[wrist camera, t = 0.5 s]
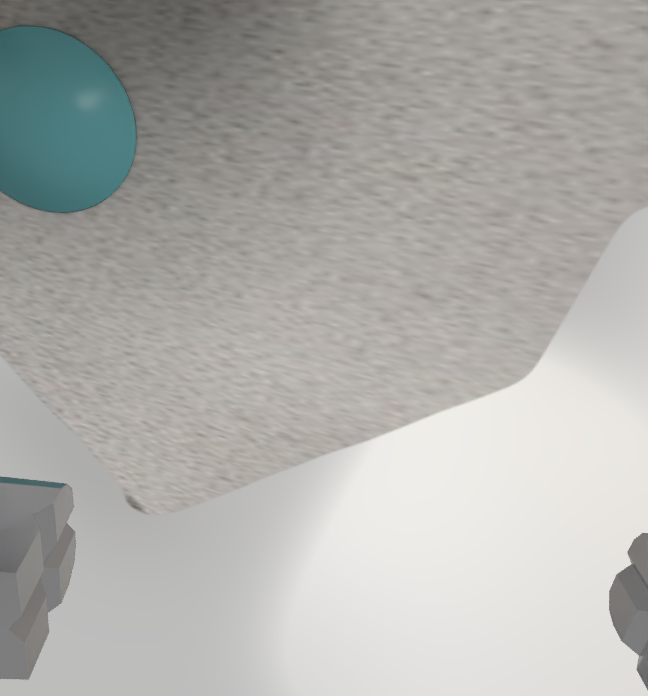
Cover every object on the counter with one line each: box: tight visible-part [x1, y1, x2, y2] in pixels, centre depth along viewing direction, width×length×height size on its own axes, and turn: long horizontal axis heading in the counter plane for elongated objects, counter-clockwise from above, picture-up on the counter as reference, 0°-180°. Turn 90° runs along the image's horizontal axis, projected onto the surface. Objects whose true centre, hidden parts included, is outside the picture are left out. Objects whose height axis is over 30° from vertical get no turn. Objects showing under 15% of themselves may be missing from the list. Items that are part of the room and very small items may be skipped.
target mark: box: [0, 26, 136, 212], centre depth 49 cm, size 14×14×1 cm
